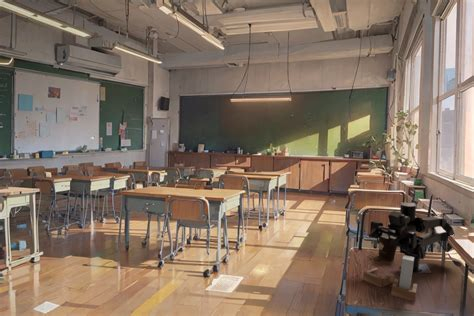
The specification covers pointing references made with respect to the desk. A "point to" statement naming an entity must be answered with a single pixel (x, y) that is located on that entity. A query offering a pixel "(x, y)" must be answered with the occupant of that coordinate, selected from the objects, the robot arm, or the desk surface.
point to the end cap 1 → (377, 278)
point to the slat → (406, 272)
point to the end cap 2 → (403, 291)
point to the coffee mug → (386, 248)
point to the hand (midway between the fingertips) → (379, 239)
